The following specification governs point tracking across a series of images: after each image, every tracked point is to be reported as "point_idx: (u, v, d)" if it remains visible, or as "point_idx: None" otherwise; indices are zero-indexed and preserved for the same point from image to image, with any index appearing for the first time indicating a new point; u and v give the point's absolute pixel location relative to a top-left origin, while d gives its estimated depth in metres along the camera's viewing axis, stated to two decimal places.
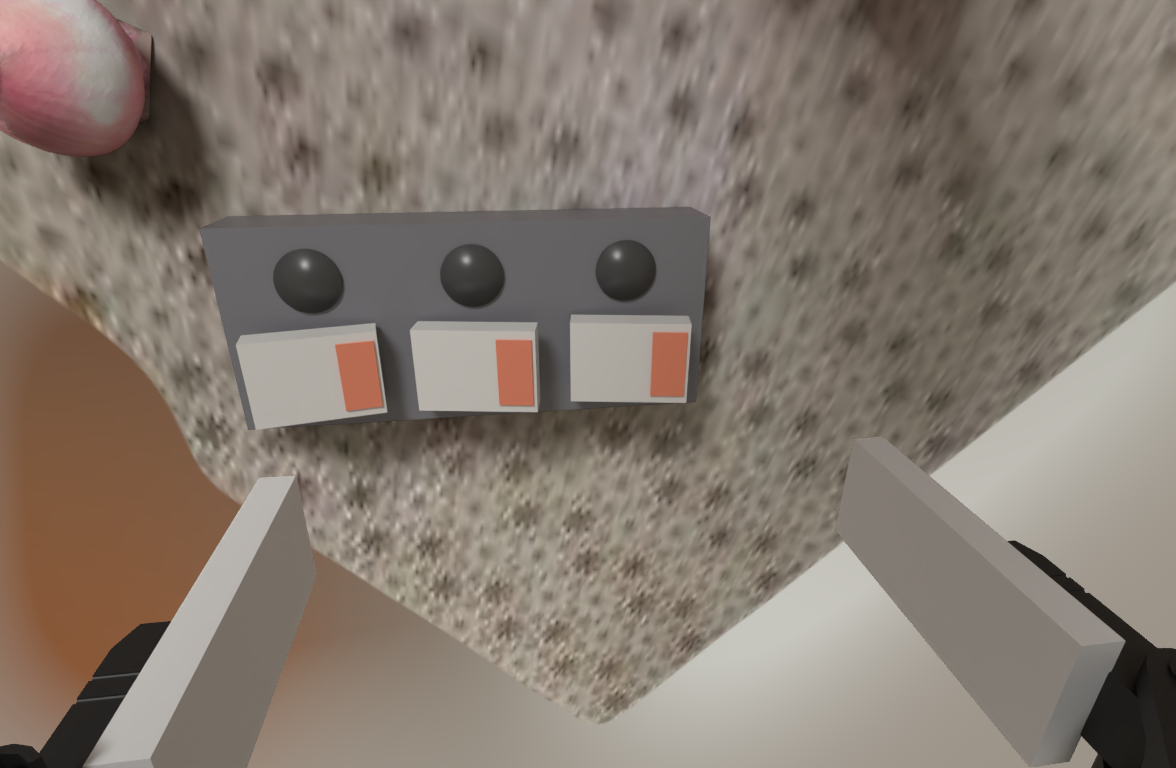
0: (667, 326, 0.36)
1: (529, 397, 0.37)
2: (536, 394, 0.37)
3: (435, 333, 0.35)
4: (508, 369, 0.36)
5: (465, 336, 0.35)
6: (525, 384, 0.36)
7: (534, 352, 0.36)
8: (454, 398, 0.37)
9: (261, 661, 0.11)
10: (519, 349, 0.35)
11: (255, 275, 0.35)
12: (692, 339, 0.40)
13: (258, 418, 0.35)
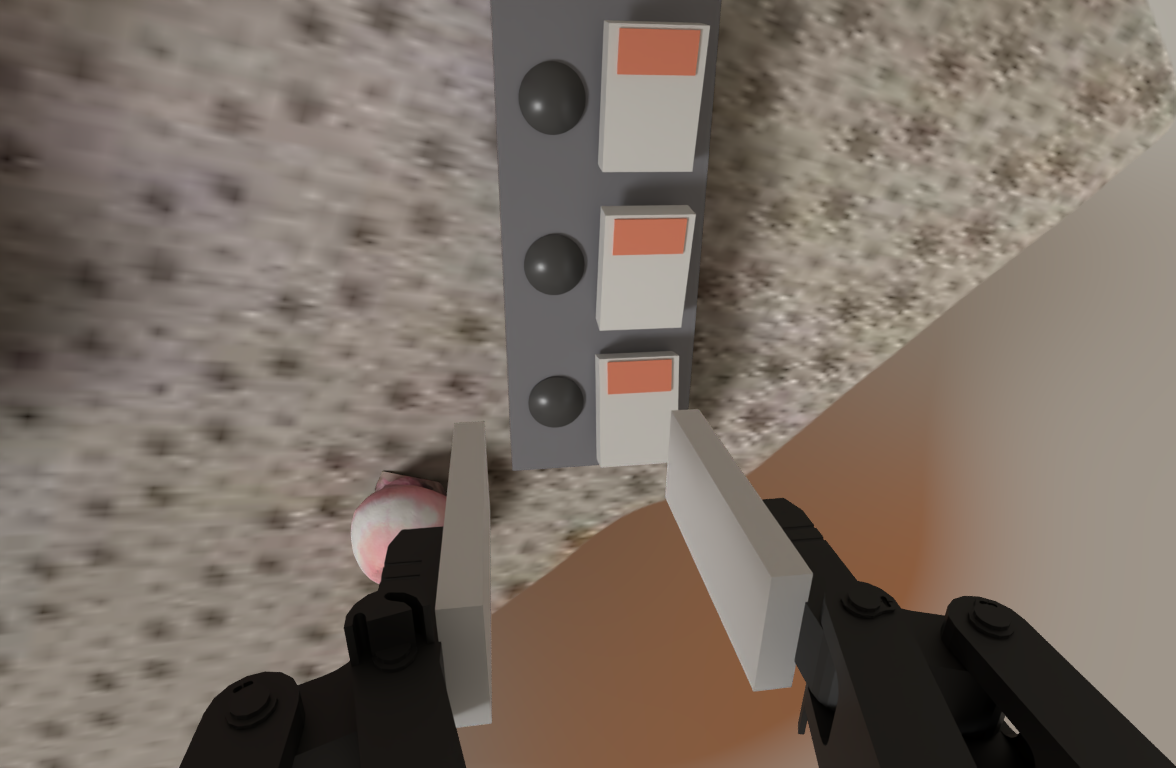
0: (610, 55, 0.31)
1: (677, 223, 0.34)
2: (675, 214, 0.34)
3: (604, 309, 0.37)
4: (644, 243, 0.35)
5: (608, 282, 0.36)
6: (662, 226, 0.34)
7: (628, 216, 0.34)
8: (671, 295, 0.37)
9: (488, 565, 0.14)
10: (623, 232, 0.34)
11: (550, 439, 0.42)
12: (638, 6, 0.33)
13: (667, 459, 0.41)
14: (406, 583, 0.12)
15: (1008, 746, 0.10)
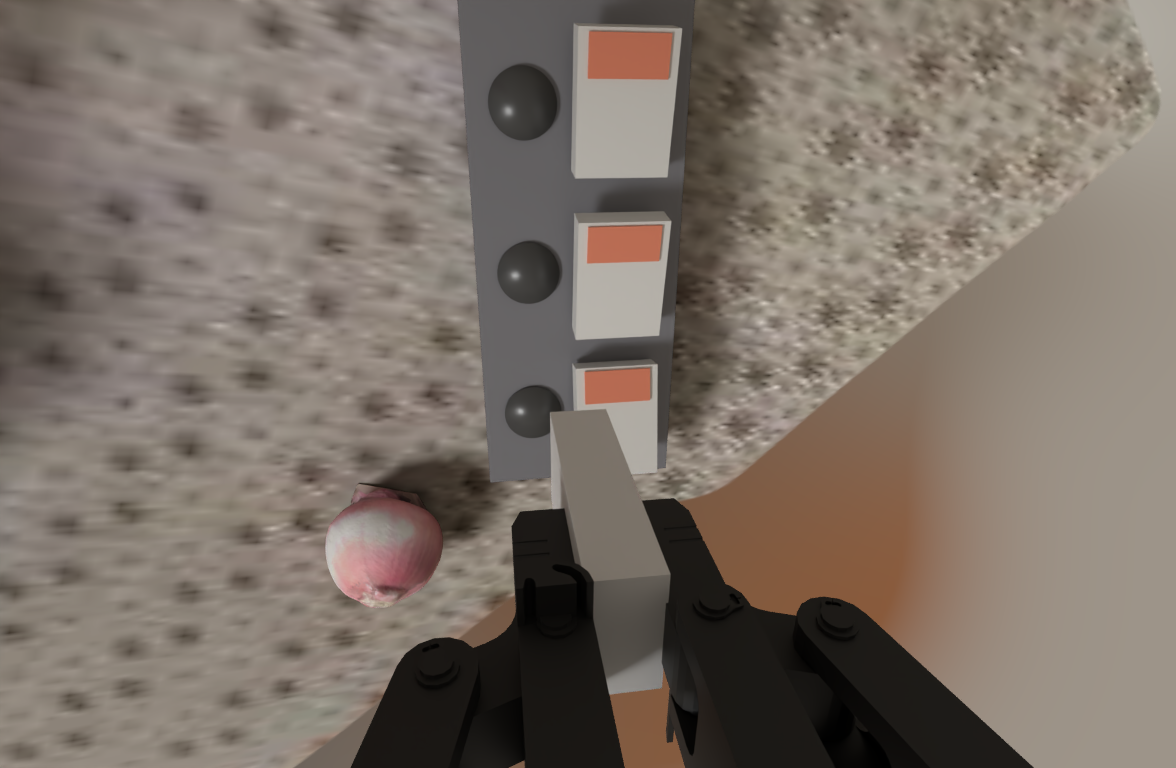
0: (580, 59, 0.30)
1: (652, 230, 0.34)
2: (650, 221, 0.34)
3: (580, 318, 0.36)
4: (619, 251, 0.34)
5: (583, 291, 0.35)
6: (637, 234, 0.34)
7: (602, 223, 0.33)
8: (648, 303, 0.36)
9: None
10: (597, 239, 0.34)
11: (528, 449, 0.41)
12: (610, 8, 0.32)
13: (646, 469, 0.40)
14: (539, 560, 0.12)
15: (864, 741, 0.10)
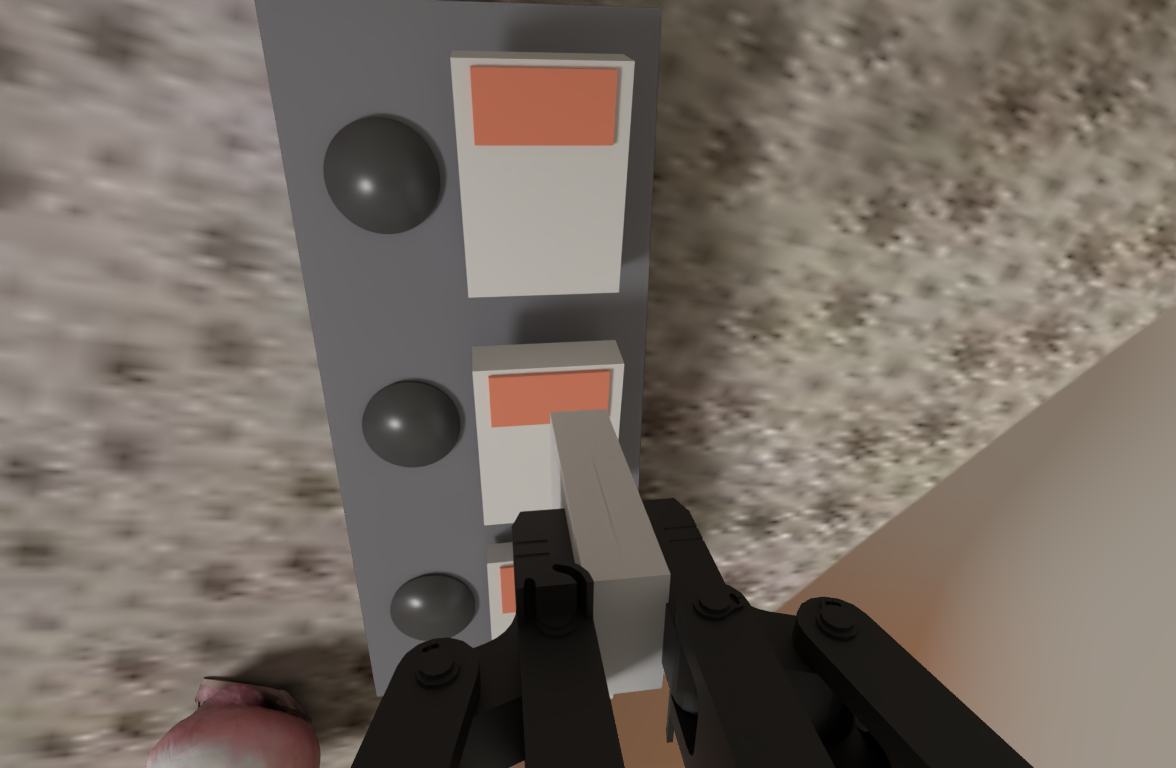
0: (460, 113, 0.18)
1: (594, 378, 0.21)
2: (591, 365, 0.21)
3: (488, 498, 0.23)
4: (542, 409, 0.21)
5: (489, 463, 0.23)
6: (570, 384, 0.21)
7: (511, 371, 0.21)
8: None
9: None
10: (505, 394, 0.21)
11: None
12: (520, 24, 0.19)
13: None
14: (539, 560, 0.12)
15: (864, 741, 0.10)
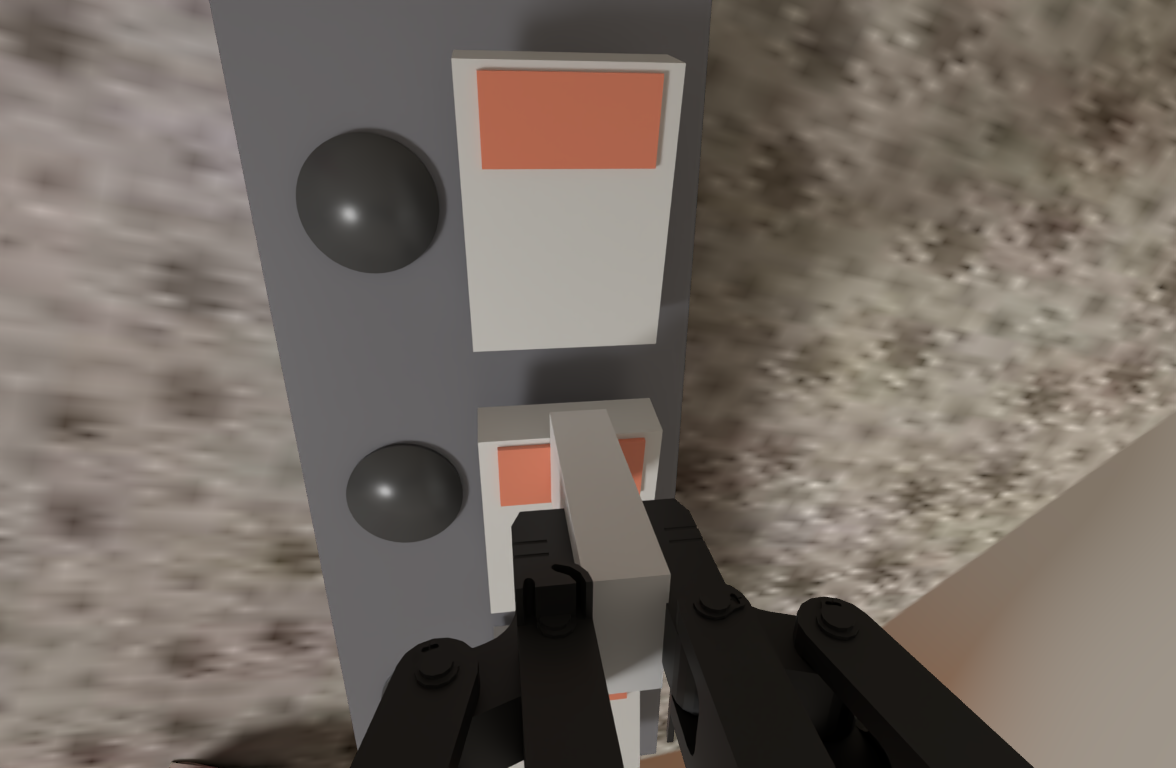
0: (464, 128, 0.14)
1: (626, 448, 0.17)
2: (622, 432, 0.17)
3: (495, 583, 0.20)
4: None
5: (497, 545, 0.19)
6: None
7: (525, 441, 0.17)
8: None
9: None
10: (518, 468, 0.17)
11: None
12: (539, 18, 0.16)
13: None
14: (538, 560, 0.12)
15: (864, 741, 0.10)
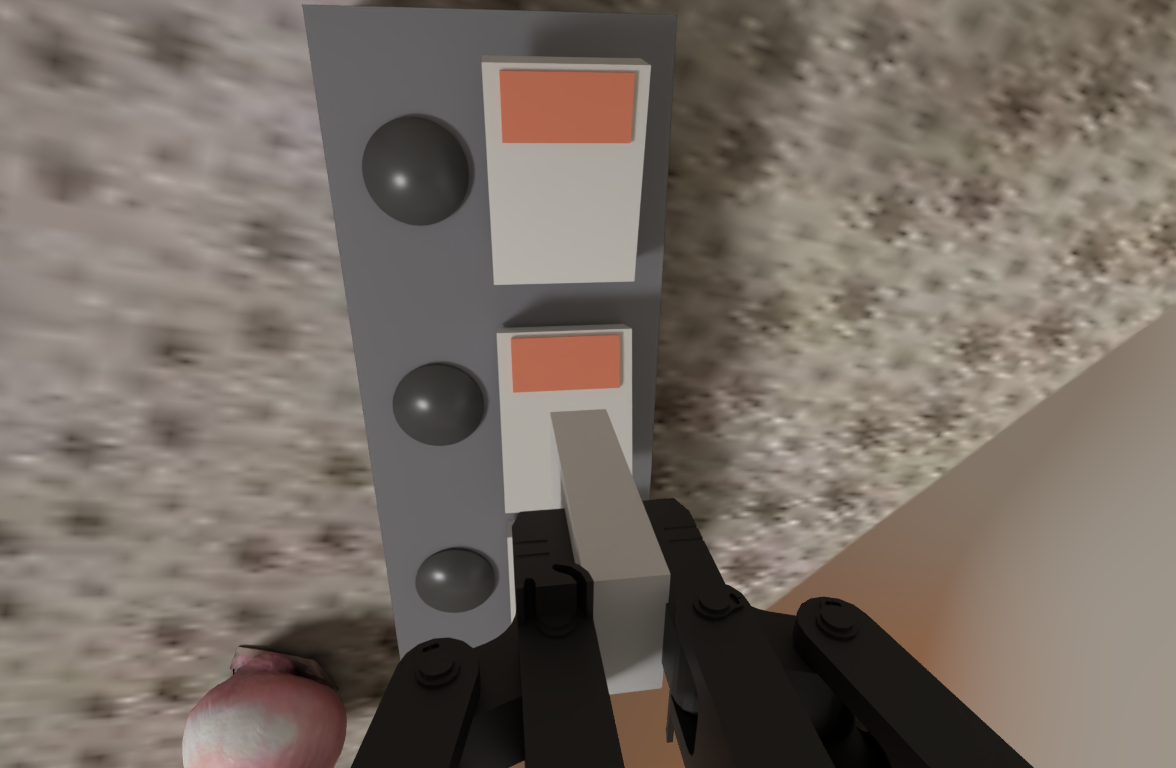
0: (489, 113, 0.19)
1: (605, 341, 0.23)
2: (602, 330, 0.24)
3: (509, 478, 0.24)
4: (559, 373, 0.23)
5: (510, 435, 0.24)
6: (583, 347, 0.23)
7: (530, 333, 0.23)
8: None
9: None
10: (526, 356, 0.23)
11: (451, 625, 0.30)
12: (545, 30, 0.21)
13: None
14: (539, 560, 0.12)
15: (864, 741, 0.10)
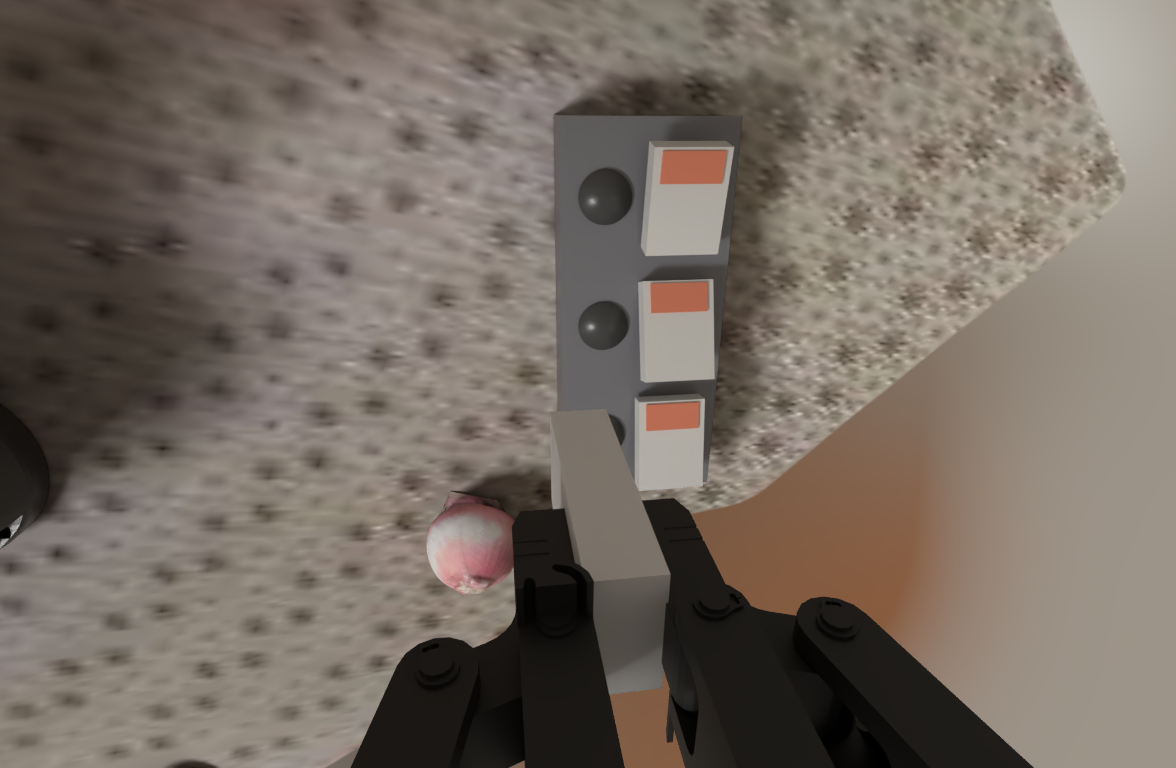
0: (655, 170, 0.39)
1: (699, 285, 0.44)
2: (697, 280, 0.44)
3: (648, 362, 0.44)
4: (675, 302, 0.44)
5: (649, 337, 0.44)
6: (688, 288, 0.44)
7: (660, 281, 0.44)
8: (703, 349, 0.45)
9: None
10: (658, 293, 0.43)
11: None
12: (676, 125, 0.41)
13: (694, 483, 0.49)
14: (539, 560, 0.12)
15: (863, 741, 0.10)
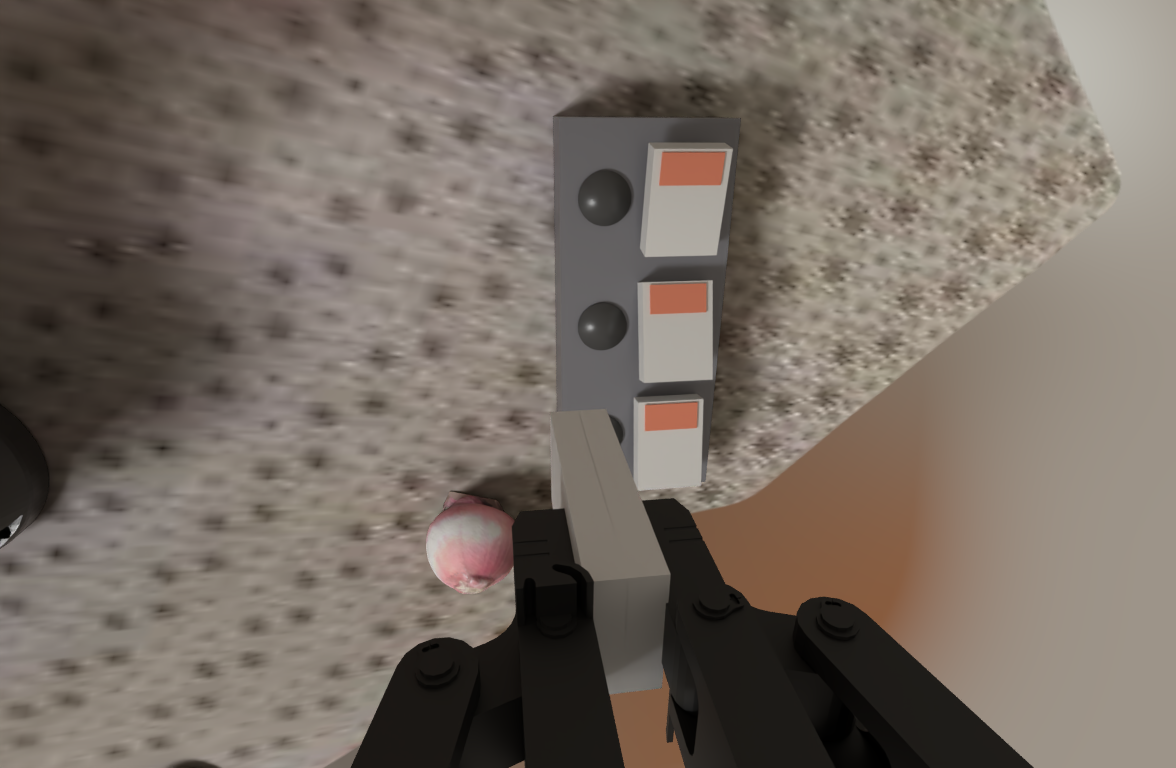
0: (654, 171, 0.39)
1: (699, 286, 0.44)
2: (696, 281, 0.44)
3: (646, 362, 0.44)
4: (675, 304, 0.44)
5: (648, 338, 0.44)
6: (687, 290, 0.44)
7: (660, 282, 0.44)
8: (701, 349, 0.45)
9: None
10: (657, 294, 0.44)
11: None
12: (675, 127, 0.41)
13: (692, 483, 0.49)
14: (539, 560, 0.12)
15: (864, 741, 0.10)
